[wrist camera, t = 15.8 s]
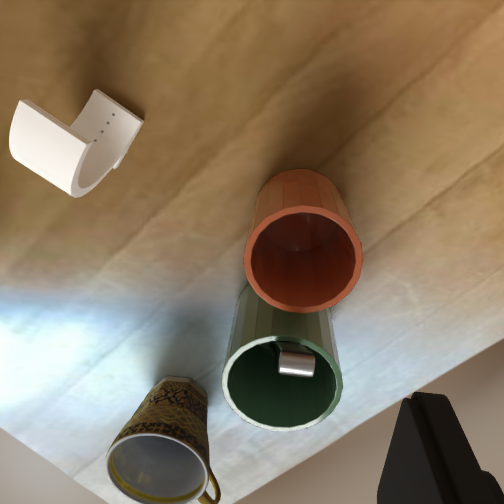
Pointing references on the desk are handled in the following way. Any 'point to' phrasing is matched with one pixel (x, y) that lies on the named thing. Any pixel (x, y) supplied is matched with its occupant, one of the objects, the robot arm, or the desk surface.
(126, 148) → the headphone stand
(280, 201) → the terracotta cup
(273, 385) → the green cup
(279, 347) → the tongs
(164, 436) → the ceramic cup
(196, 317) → the desk surface
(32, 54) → the desk surface
